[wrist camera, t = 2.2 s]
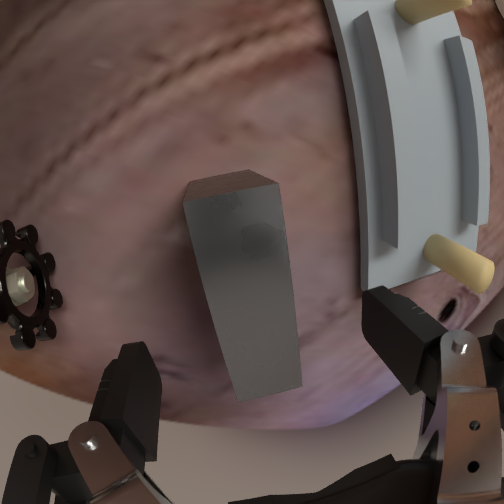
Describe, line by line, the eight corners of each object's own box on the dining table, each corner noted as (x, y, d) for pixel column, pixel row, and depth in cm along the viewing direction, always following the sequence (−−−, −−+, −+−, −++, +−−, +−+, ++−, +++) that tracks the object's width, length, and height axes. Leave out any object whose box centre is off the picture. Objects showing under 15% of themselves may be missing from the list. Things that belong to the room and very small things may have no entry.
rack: (316, -22, 11) (363, -71, 5) (443, 10, 12) (498, -6, 6) (360, 288, 18) (413, 340, 12) (467, 252, 19) (518, 281, 13)
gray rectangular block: (189, 181, 14) (182, 202, 9) (248, 169, 14) (278, 183, 9) (225, 329, 17) (238, 402, 12) (272, 317, 18) (302, 386, 12)
